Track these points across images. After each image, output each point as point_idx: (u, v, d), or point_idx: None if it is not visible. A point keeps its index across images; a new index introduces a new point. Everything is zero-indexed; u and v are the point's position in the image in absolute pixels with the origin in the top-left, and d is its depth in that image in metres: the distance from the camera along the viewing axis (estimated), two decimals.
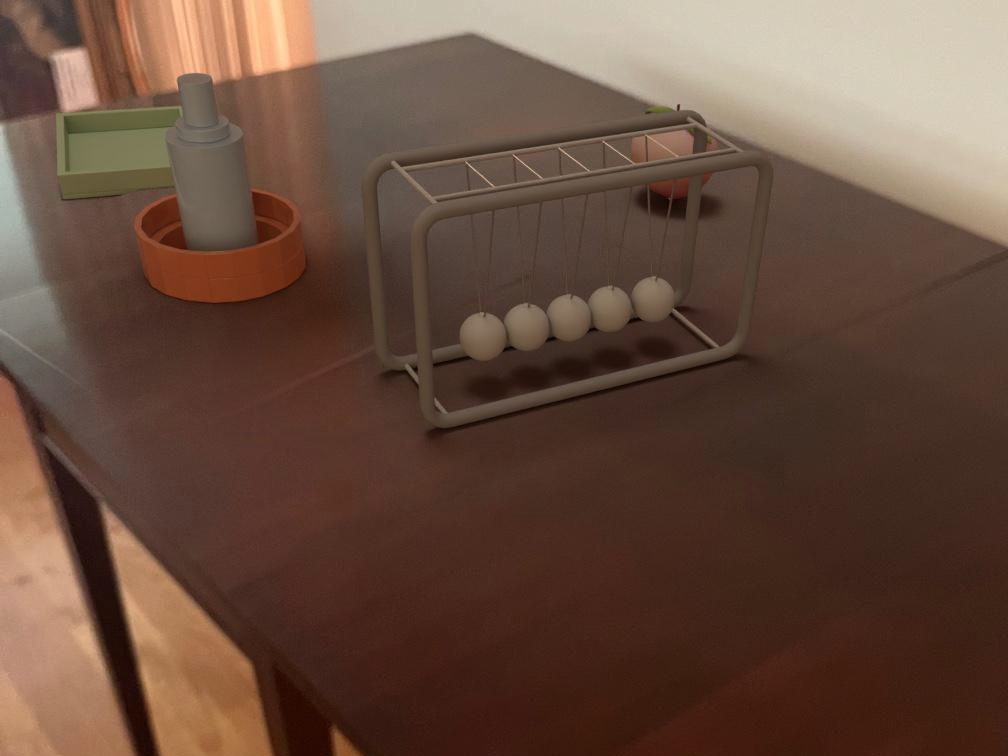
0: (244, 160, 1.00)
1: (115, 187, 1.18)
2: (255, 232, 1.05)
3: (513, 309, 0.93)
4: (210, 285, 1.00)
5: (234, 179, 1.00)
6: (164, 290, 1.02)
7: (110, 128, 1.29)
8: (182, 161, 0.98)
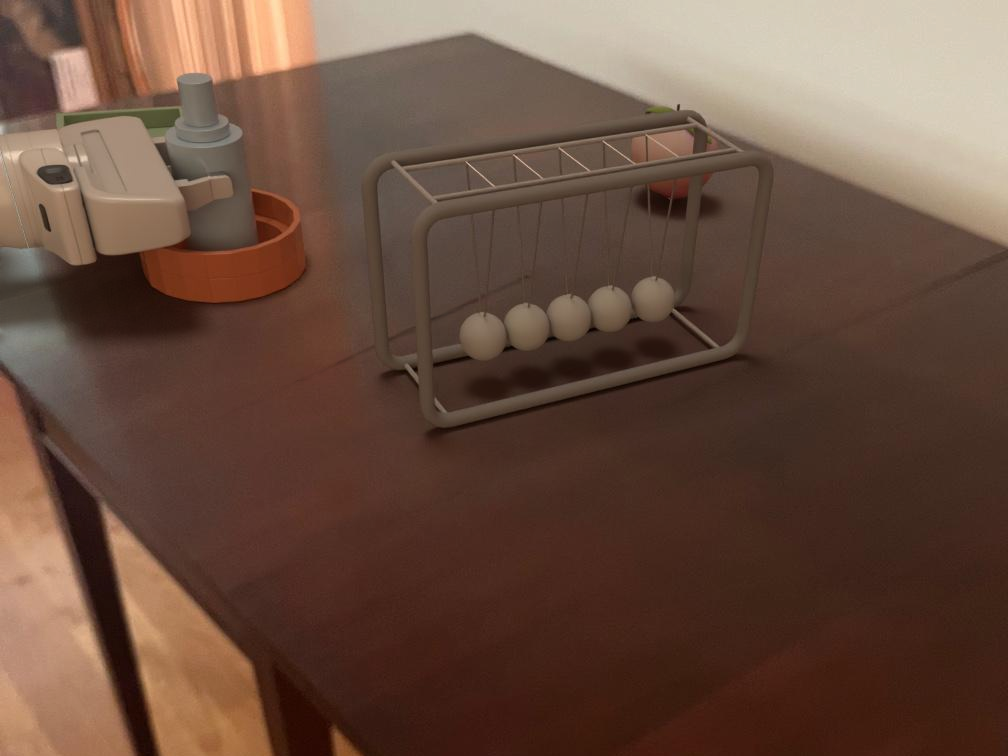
0: (244, 160, 1.00)
1: None
2: (255, 232, 1.05)
3: (513, 309, 0.93)
4: (210, 285, 1.00)
5: (234, 179, 1.00)
6: (164, 290, 1.02)
7: None
8: (182, 161, 0.98)
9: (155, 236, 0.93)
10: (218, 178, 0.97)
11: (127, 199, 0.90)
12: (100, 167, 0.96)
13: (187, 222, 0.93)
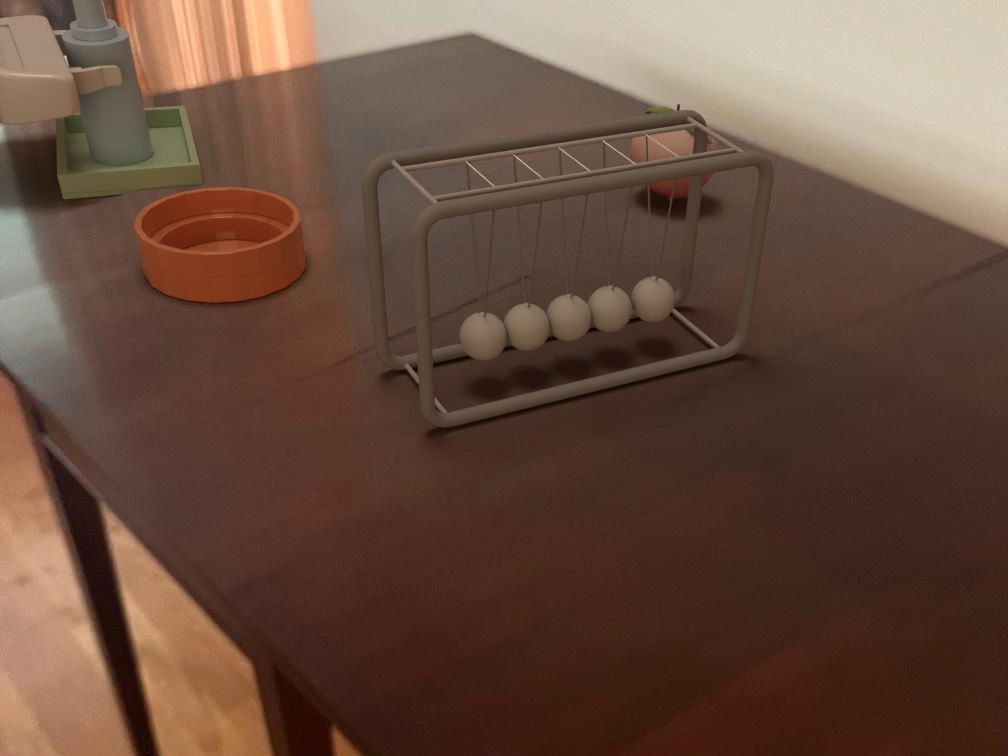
0: (131, 58, 1.18)
1: (115, 187, 1.18)
2: (144, 123, 1.23)
3: (513, 309, 0.93)
4: (210, 285, 1.00)
5: (122, 74, 1.18)
6: (164, 290, 1.02)
7: None
8: (76, 56, 1.16)
9: (48, 108, 1.10)
10: (108, 67, 1.14)
11: (23, 74, 1.07)
12: (4, 52, 1.13)
13: (76, 98, 1.10)
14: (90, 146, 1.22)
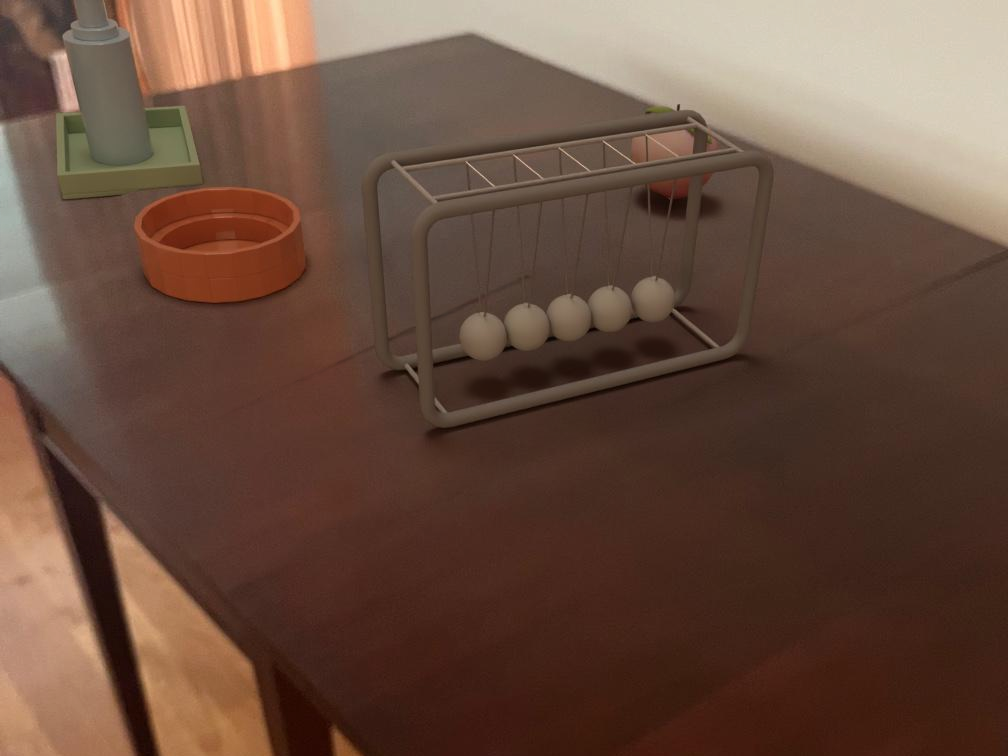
0: (131, 58, 1.18)
1: (115, 187, 1.18)
2: (145, 123, 1.23)
3: (513, 309, 0.93)
4: (210, 285, 1.00)
5: (123, 74, 1.18)
6: (164, 290, 1.02)
7: None
8: (76, 56, 1.16)
9: None
10: None
11: None
12: None
13: None
14: (90, 146, 1.22)
